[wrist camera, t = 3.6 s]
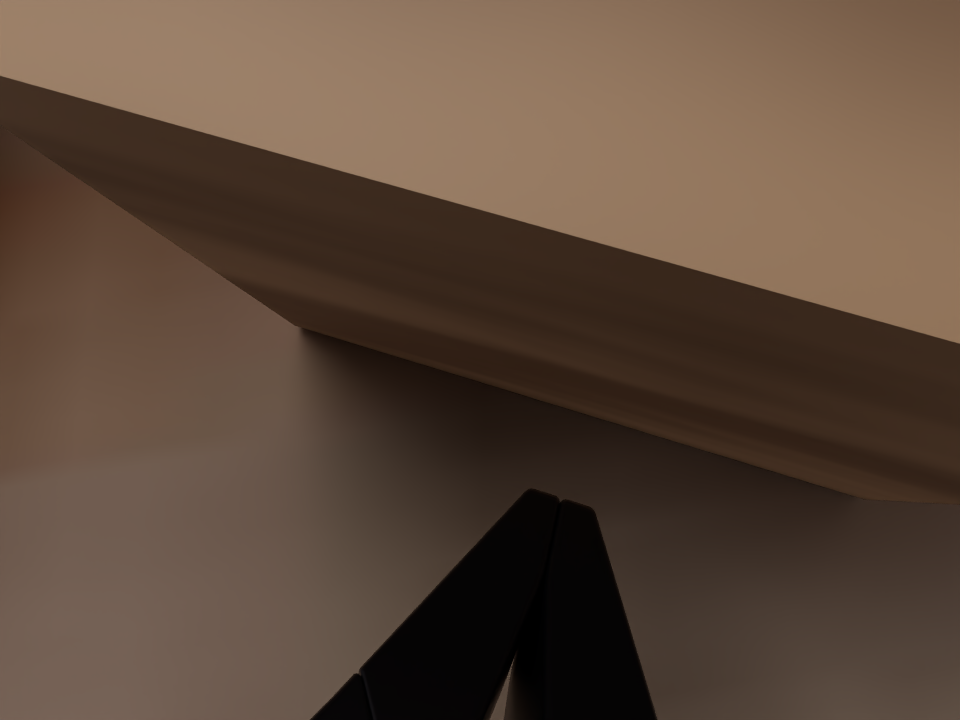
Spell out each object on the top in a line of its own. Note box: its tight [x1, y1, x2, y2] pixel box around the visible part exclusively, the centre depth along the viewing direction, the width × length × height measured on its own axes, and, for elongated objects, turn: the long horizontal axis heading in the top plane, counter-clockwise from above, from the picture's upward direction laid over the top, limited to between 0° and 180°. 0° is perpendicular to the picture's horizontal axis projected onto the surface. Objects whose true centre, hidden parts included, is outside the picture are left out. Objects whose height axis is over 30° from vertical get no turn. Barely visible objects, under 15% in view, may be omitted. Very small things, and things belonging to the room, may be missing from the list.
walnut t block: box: [0, 0, 960, 505], centre depth 11 cm, size 12×13×11 cm
